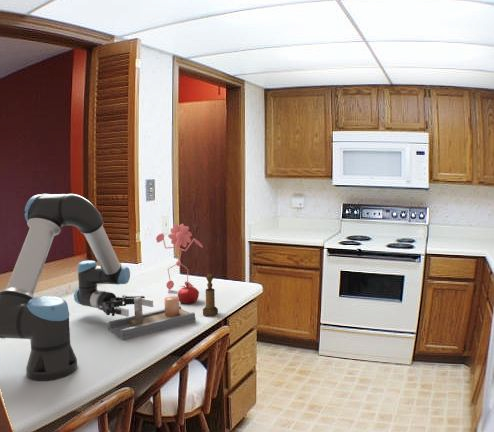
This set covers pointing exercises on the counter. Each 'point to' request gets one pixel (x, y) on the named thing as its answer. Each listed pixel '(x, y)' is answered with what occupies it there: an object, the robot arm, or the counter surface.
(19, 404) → the counter surface
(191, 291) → the pomegranate
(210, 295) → the bronze statuette
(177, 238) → the pink branching stem figurine
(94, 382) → the counter surface
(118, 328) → the track
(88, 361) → the counter surface
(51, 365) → the robot arm
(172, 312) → the canister
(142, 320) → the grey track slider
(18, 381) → the counter surface
